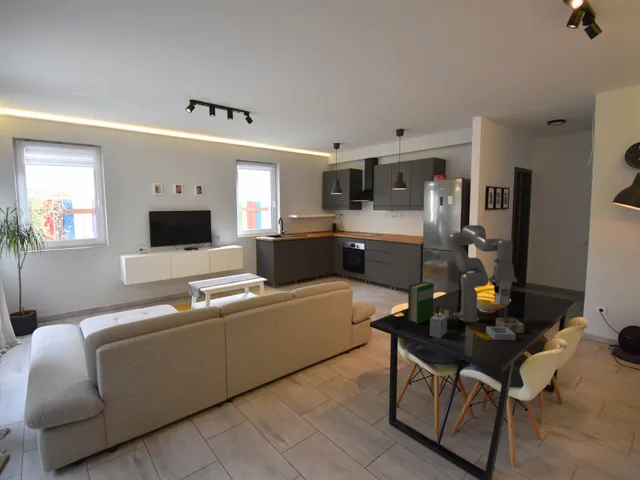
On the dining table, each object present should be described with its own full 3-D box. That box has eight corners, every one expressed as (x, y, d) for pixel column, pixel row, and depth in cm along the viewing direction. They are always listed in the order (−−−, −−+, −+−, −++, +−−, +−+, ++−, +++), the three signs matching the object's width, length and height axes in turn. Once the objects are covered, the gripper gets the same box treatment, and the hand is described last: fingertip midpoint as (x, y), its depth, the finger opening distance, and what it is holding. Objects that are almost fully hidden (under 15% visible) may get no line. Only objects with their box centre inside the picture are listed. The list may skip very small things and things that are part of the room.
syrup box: (503, 302, 195) (505, 277, 193) (509, 305, 189) (511, 280, 187) (494, 302, 194) (495, 278, 193) (500, 305, 189) (501, 280, 187)
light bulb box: (435, 330, 203) (436, 313, 202) (447, 332, 199) (447, 315, 198) (429, 335, 195) (429, 317, 194) (440, 338, 191) (441, 320, 190)
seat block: (494, 339, 188) (494, 333, 188) (486, 332, 200) (486, 326, 199) (515, 340, 187) (515, 334, 187) (506, 332, 199) (506, 326, 198)
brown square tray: (504, 332, 199) (504, 324, 199) (495, 325, 210) (496, 317, 210) (524, 332, 198) (524, 324, 198) (514, 326, 210) (515, 318, 209)
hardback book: (417, 324, 214) (418, 287, 212) (407, 321, 220) (408, 285, 217) (432, 318, 225) (433, 283, 223) (423, 315, 231) (424, 281, 228)
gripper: (490, 262, 186) (489, 294, 188) (523, 263, 185) (521, 294, 187) (485, 260, 194) (484, 291, 196) (516, 260, 192) (514, 291, 194)
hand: (502, 292), depth 191 cm, fingers closed on syrup box, 6 cm apart
